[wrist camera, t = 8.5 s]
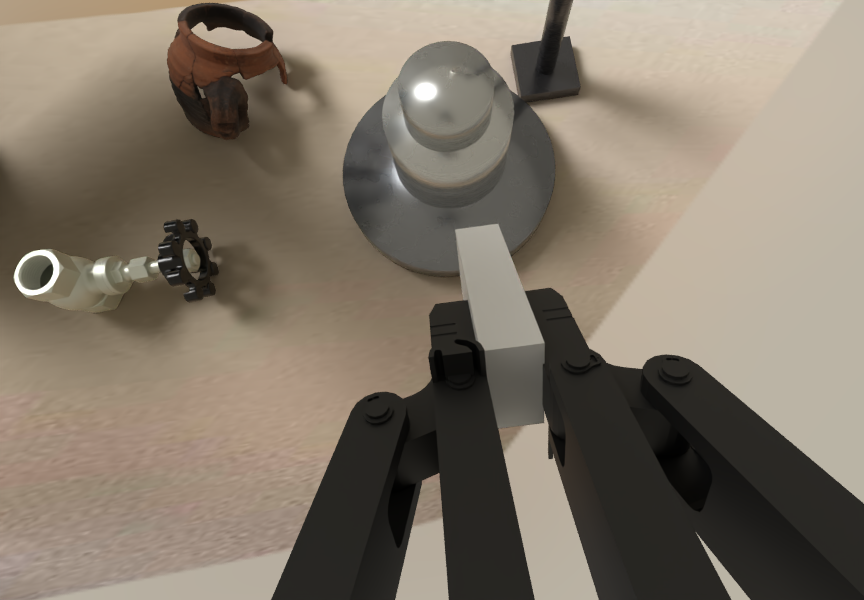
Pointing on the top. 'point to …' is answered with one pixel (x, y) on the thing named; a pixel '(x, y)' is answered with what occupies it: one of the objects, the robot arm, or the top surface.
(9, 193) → the top surface
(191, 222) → the valve
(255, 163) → the top surface
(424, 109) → the cover
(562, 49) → the dial stand
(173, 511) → the top surface
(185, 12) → the brown irregular ringed piece
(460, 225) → the grey metal flat disc
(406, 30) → the top surface
